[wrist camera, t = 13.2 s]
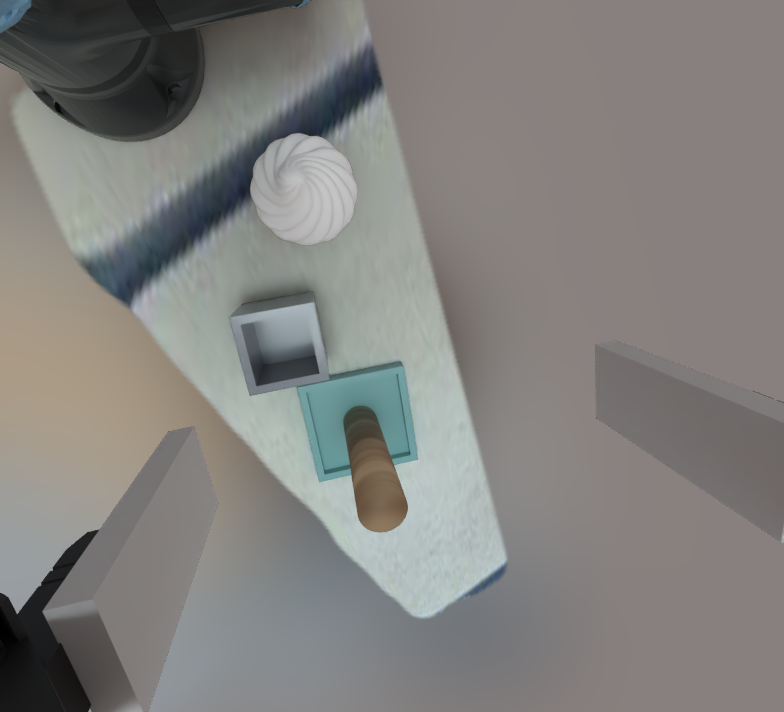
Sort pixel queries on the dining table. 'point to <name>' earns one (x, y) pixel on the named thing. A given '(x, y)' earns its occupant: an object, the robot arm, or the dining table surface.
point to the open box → (280, 343)
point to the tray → (349, 390)
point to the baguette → (373, 472)
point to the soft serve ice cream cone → (303, 189)
